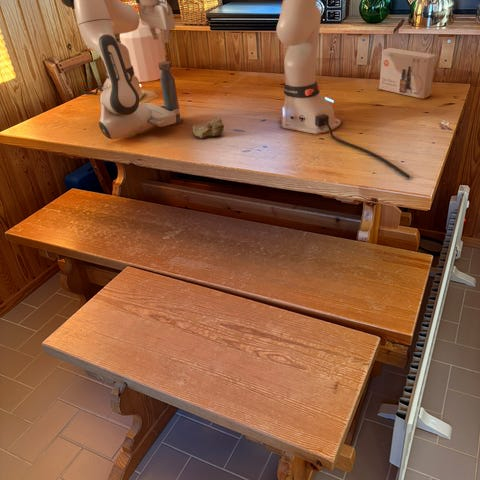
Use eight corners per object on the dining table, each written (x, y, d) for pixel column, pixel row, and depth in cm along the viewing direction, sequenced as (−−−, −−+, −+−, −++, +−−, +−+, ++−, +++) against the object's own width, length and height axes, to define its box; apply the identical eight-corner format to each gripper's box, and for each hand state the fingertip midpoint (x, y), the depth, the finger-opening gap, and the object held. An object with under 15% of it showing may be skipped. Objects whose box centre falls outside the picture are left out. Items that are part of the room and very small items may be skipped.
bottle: (172, 119, 186) (163, 61, 174) (184, 120, 184) (174, 62, 171) (164, 123, 182) (154, 65, 170) (175, 125, 180) (166, 66, 167)
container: (160, 81, 233) (149, 21, 217) (121, 82, 238) (108, 23, 222) (174, 69, 249) (165, 13, 233) (138, 70, 254) (126, 15, 238)
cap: (164, 66, 174) (163, 61, 173) (173, 67, 172) (172, 61, 171) (157, 69, 171) (156, 64, 170) (166, 70, 169) (165, 64, 168)
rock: (192, 135, 173) (196, 140, 164) (189, 118, 170) (194, 122, 161) (220, 130, 175) (226, 135, 166) (218, 113, 172) (223, 117, 163)
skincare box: (377, 89, 194) (381, 50, 185) (385, 86, 197) (389, 47, 188) (423, 99, 180) (429, 56, 171) (430, 95, 183) (437, 53, 174)
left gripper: (154, 116, 165) (186, 106, 172) (129, 104, 179) (160, 95, 186) (157, 133, 169) (189, 122, 175) (132, 120, 183) (162, 110, 189)
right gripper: (175, -2, 152) (182, 42, 160) (148, -5, 166) (156, 36, 174) (158, 1, 149) (166, 46, 157) (132, -3, 164) (140, 39, 172)
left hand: (174, 108), depth 181 cm, fingers closed on bottle, 5 cm apart
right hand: (160, 41), depth 166 cm, fingers open, 7 cm apart
